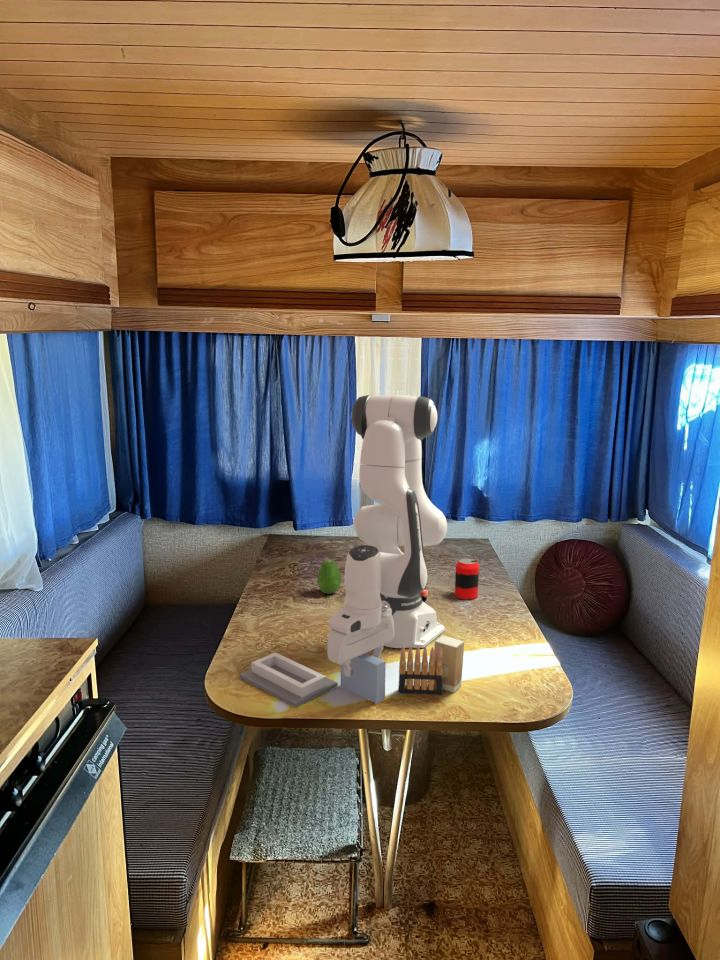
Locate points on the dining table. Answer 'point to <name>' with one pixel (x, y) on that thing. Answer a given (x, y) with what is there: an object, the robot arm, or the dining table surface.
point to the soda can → (466, 579)
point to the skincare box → (450, 662)
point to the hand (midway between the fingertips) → (361, 668)
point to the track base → (287, 679)
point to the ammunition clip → (420, 673)
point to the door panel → (366, 677)
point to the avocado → (329, 577)
